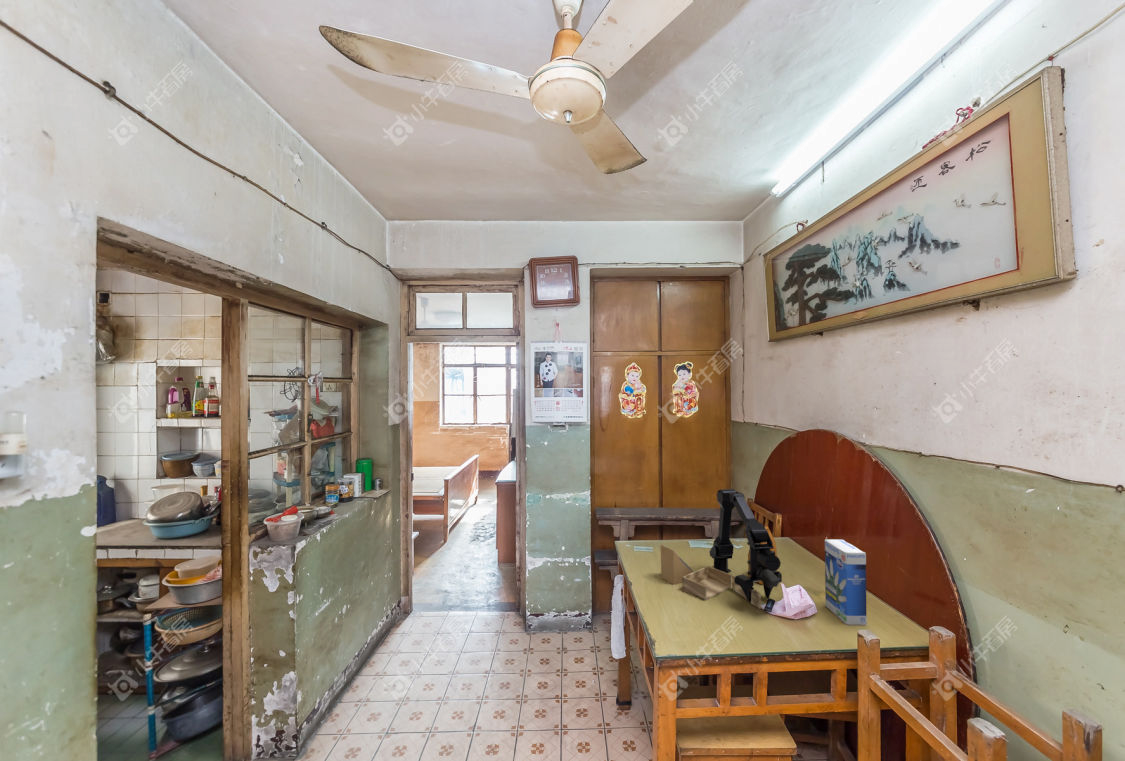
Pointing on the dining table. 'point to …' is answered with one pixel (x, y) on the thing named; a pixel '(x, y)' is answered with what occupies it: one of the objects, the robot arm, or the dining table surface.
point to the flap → (754, 598)
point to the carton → (706, 582)
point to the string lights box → (845, 581)
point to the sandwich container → (673, 566)
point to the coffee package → (770, 549)
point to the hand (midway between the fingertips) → (758, 600)
